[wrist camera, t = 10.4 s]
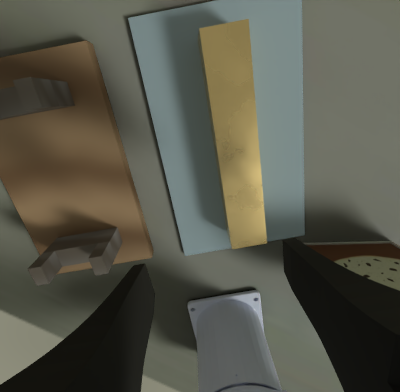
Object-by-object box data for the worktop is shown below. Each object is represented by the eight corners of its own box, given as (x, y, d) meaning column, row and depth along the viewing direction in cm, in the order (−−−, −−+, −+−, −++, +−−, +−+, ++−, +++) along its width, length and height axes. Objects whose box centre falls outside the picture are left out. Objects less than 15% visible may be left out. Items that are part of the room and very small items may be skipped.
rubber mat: (302, 233, 24) (304, 235, 24) (184, 253, 25) (184, 255, 24) (299, -14, 17) (301, -17, 16) (129, 19, 17) (128, 17, 17)
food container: (280, 290, 27) (328, 391, 18) (287, 243, 25) (347, 330, 15) (387, 287, 27) (489, 383, 18) (404, 240, 25) (531, 323, 16)
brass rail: (257, 226, 23) (267, 243, 20) (226, 231, 23) (231, 249, 21) (239, 31, 17) (248, 18, 14) (197, 39, 17) (199, 28, 15)
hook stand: (153, 250, 24) (144, 290, 19) (56, 267, 24) (21, 311, 19) (92, 44, 17) (53, 21, 12) (-41, 70, 18) (-133, 58, 13)
